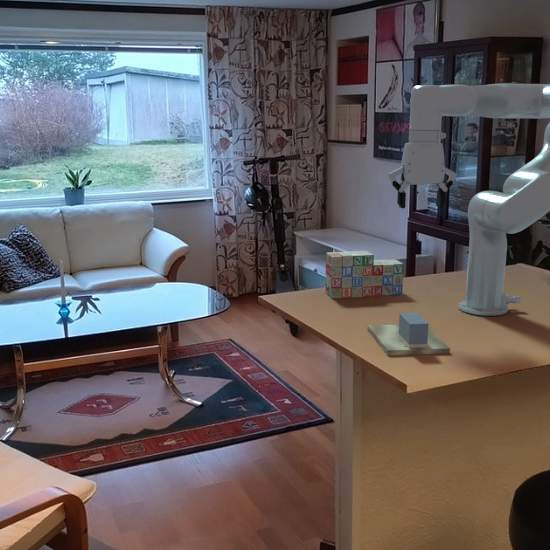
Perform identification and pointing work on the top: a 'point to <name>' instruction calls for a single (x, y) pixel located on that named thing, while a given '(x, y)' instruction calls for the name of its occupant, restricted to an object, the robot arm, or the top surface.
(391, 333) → the board
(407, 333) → the block
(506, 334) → the top surface
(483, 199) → the robot arm
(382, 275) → the stack of blocks
